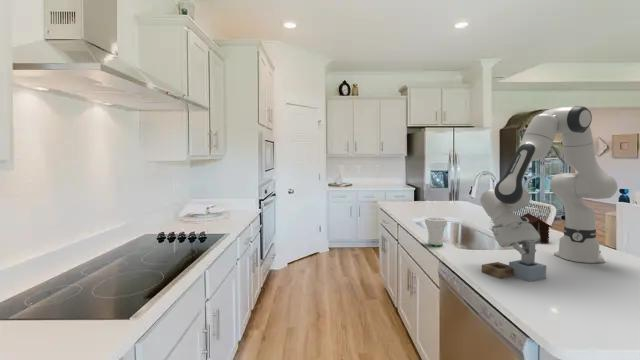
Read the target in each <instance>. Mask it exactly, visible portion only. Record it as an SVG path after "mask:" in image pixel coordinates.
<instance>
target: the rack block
mask: <svg viewBox="0 0 640 360" xmlns="http://www.w3.org/2000/svg"><path fill="white" fill-rule="evenodd" d="M508 265H509V267H511V268H514V276H513V277H516V278H519V279H521V280H524V281H527V282H534V281H539V280H544V279H547V265H546V264H543V263H539V262H536V261H535V262H534V265H533V266H526V265H523V264H521V259H519V260H514V261H513V260H512V261H509V262H508Z"/></svg>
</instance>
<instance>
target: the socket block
mask: <svg viewBox="0 0 640 360" xmlns="http://www.w3.org/2000/svg"><path fill="white" fill-rule="evenodd" d="M481 273H484V274H487V275H489V276H492V277H495V278H498V279H500V280H501V279H507V278H510V277H511V278H512V277H515V276H514V268H511V267H509V264H505V263H502V262H501V261H495V262H489V263H484V264H483V263H482V264H481Z"/></svg>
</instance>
